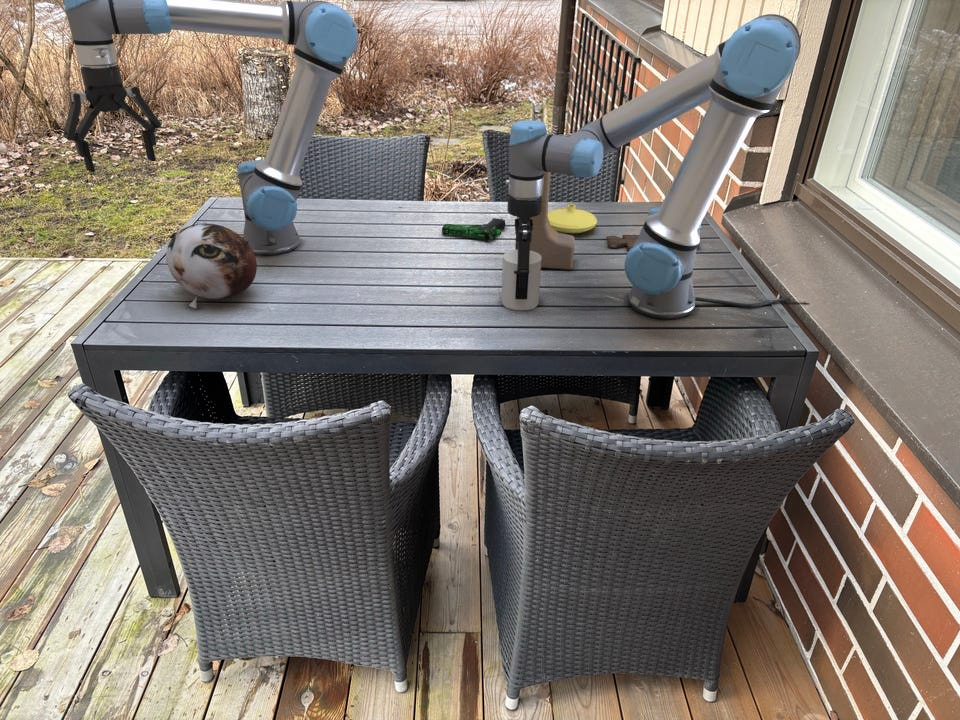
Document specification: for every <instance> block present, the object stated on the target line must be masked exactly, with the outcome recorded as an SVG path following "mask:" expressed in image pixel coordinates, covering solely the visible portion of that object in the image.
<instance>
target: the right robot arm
mask: <svg viewBox="0 0 960 720" xmlns="http://www.w3.org/2000/svg"><path fill="white" fill-rule="evenodd" d="M801 40H802V39H801V35H800V32H799V29H798V28H797V25H795V23H794V22H792V21H791V20H790V19H789V18H788V17H786V16H783V15H782V14H776V13H768V14H762V15H759V16H757V17H755V18H753V19H751V20H749V21H748V22H746V23H744V24H742V25H741V26H740V27H738V28H737V29H736V30H735V31H734V32H733V33H732V35H731V36H730V37H728V38H727V39H726V40H725V41H722V42H721V43H718V44H717V45H716V48H715V51H714V53H712V54H710V55H709V56H707V57H705V58H703V59H702V60H700V61H698V62H696V63H694V64H692V65H691V66H689V67H687V68H685V69H684V70H682V71H679V72H678V73H677V74H675V75H673V76H671V77H669V78H667V79H666V80H664V81H662V82H660V83H659V84H656V85H655V86H653V87H651V88H650V89H648V90H646V91H645V92H643V93H641V94H639V95H638V96H635V97H633V98H632V99H630V100H628V101H627V102H625V103H623V104H621V105H619V106H618V107H616V108H614V109H613V110H611V111H609V112H607V113H605V114H604V115H602V116H600V117H598V118H596V119H595V120H593V121H590V122H588V123H586V124H584V125H583V126H582V127H581V128H580V129H578V130H577V131H575V132H574V133H572V134H570V135H569V136H567V135H556V134H551V133H548V130H547V125H546V123H544V122H543V121H539V120H533V119H532V120H531V119H526V120H519V121H516V122H514V123H513V124H511V127H510V135H509V144H508V147H509V151H508V152H509V153H508V154H509V155H508V179H506V180H505V185H508V187H507V188H508V189H507V190H508V191H507V193H508V195H507V206H506V207H507V209H506V210H507V213H508V214H509V215H511V216H513V217H516V218H514V233H515V244H516V245H515V244H514V245H515V246H514V247H516V250H518V263H517V271H514V274H516V293H515V299H527V294H528V276H529V257H530V242H531V239H532V230H533V223H532V219H530V218H531V217H535V216H538V215H539V214H540V213H541V210H542V197H541V195H542V194H543V181H544V171H545V172H550V173H553V174H559V175H565V176H571V177H576V178H595V177H596V176H598V174H599V172H600V170H601V167H602V164H603V159H604V156H606V155H607V154H610V153H611V152H613V151H615V150H617V149H618V148H620V147H622V146H624V145H626V144H629V143H630V142H632V141H634V140H636V139H637V138H639V137H641V136H643V135H646V134H648V133H649V132H651V131H654V130H655V129H657V128H659V127H661V126H663V125H664V124H667V123H668V122H670V121H672V120H674V119H677V118H679V117H680V116H682V115H684V114H686V113H688V112H690V111H692V110H694V109H696V108H697V107H699V106H701V105H703V104H705V103H707V102H709V101H710V102H709V105H708V107H707V109H706V111H705V113H704V115H703V117H702V120H701V122H700V124H699V125H698V128H697V130H696V132H695V134H694V136H693V138H692V140H691V143H690V144H689V147H688V149H687V151H686V152H685V154H684V157H683V159H682V161H681V164H680V165H679V167H678V170H677V172H676V173H675V175H674V177H673V180H672V182H671V184H670V186H669V187H668V191H667V193H666V194H665V197H664V199H663V201H662V202H661V205H660V206H657V207H653V208H650V209H649V211H648V214H647V217H646V218H645V221H644V223H643V225H642V227H641V229H640V231H639V233H638V235H639V236H638V238H637V240H636V242H635V244H634V246H633V247H632V248H631V249H630V250H628V251H627V253H626V256H625V260H624V266H623V267H624V273H625V275H626V278H627V280H628V282H629V283H630V284H631V285H632V287H631V288H630V291H629V293H628V299H627V303H628V305H629V307H630V308H631V309H633V310H634V311H635V312H637V313H639V314H641V315H643V316H647V317H650V318H655V319H660V320H661V319H662V320H675V319H681V318H686V317H688V316H690V315H691V314H692V313H693V312H694V311H695V307H696V302H701V303H711V304H718V305H726V306H732V307H738V308H760V307H764V306H767V305H769V304H774V303H775V304H776V303H782V302H788V301H789V302H790V301H791V300H790V298H789V297H790V296H785V297H780V298H779V297H778V298H777V299H778V300H772V301H770V300H771V299H768V300H765V301H761V302H755V303H745V302H744V303H743V302H736V301H731V300H730V301H729V300H722V299H715V298H707V297H699V296H698V297H697V296H695V295H696V294H695V290H694V283H693V272H694V267H695V261H696V255H697V250H698V249H697V246H698V244H699V245H700V242H701V237H700V233H701V230H702V222H703V220H704V219H705V216H706V214H707V213H708V211H709V209H710V207H711V205H712V203H713V201H714V199H715V197H716V195H717V194H718V192H719V189H720V188H721V185H722V184H723V182H724V180H725V178H726V176H727V174H728V172H729V170H730V168H731V167H732V165H733V163H734V161H735V159H736V157H737V155H738V153H739V151H740V149H741V148H742V145H743V144H744V142H745V140H746V138H747V136H748V134H749V132H750V130H751V129H752V127H753V125H754V123H755V122H756V120H757V118H758V117H759V116H762V115H765V114H767V113H769V112H770V111H771V109H772V108H773V105H774V103H775V101H776V100H777V98H778V96H779V94H780V92H781V91H782V89H783V87H784V85H785V83H786V81H787V80H788V79H789V77H790V76H791V74H792V72H793V70H794V68H795V65H796V62H797V60H798V58H799V55H800V52H801V47H802V42H801Z"/></svg>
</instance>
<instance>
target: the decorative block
mask: <svg viewBox="0 0 960 720" xmlns="http://www.w3.org/2000/svg"><path fill="white" fill-rule="evenodd" d="M550 182H551V172H545V171H544V181H543V194H542V195H541V197H542V210H541V213H540V214H539V215H538V216H535V217H531V218H530V219H532V223H533V230H532V239H531V242H530V251H534V252H537V253H538V254H540V255H541V257H542V258H541V269H553V270H554V269H555V270H568V271H569V270H572V269H573V265H574V263H573V262H574V256H575V255H574V254H575V242H576V241H575V236H574V235H571V234H568V233H563V232H559V231H556V230H554V229H553V228H551V225H550V222H549V219H548V216H547V215H548V212H549V200H550V199H549V198H550V196H549V195H550V185H551V184H550ZM514 245H516V243H515V244H514ZM514 247H515V246H514ZM514 250H516V247H515V249H514Z"/></svg>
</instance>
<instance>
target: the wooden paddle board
mask: <svg viewBox="0 0 960 720" xmlns="http://www.w3.org/2000/svg"><path fill="white" fill-rule="evenodd" d="M638 236H639V234H622V237H619V236H617V235H607V236H606V237H605V238H606V243H607V246H608V248H609V249H618V248H623V247H626V248H627V250H628V251H629V250H630V249H631V248H632V247H633V246H634V244H635V242H636V240H637V238H638ZM699 248H700V243H699V244H698V246H697V250H698V249H699Z"/></svg>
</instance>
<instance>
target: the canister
mask: <svg viewBox="0 0 960 720" xmlns="http://www.w3.org/2000/svg"><path fill="white" fill-rule="evenodd" d="M541 258H542V257H541V255H540V254H538V253H537V252H534V251H530V257H529V276H528V294H527V299H515V293H516V274H514V271H517V263H518V250H515V249H512V250H508V251H506V252H504V253H503V255H502V270H501V271H502V272H501V273H502V274H501V275H502V276H501V278H502V279H501V304H502V306H503V307H505V308H507V309H510V310H514V311H530V310H533V309H536V307H538V306H539V303H540V289H541V288H540V287H541V271H542V268H541Z"/></svg>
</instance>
